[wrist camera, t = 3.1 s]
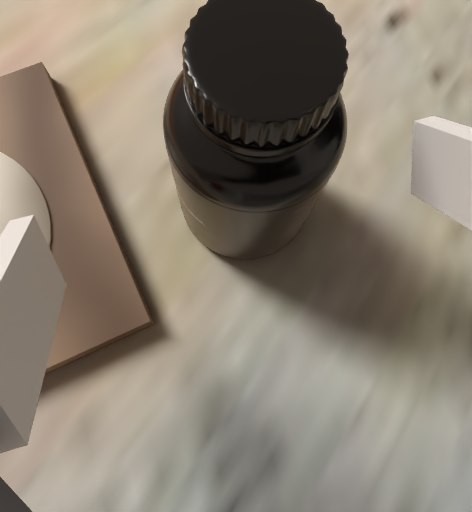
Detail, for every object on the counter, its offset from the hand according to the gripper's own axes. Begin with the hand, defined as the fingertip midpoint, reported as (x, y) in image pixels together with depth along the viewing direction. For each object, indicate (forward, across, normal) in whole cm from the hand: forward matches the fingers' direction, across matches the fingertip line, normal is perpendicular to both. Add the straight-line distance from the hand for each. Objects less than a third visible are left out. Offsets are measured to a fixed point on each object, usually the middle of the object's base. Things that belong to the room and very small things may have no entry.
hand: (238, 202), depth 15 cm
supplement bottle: (+8, +2, -4) cm, 9 cm away
